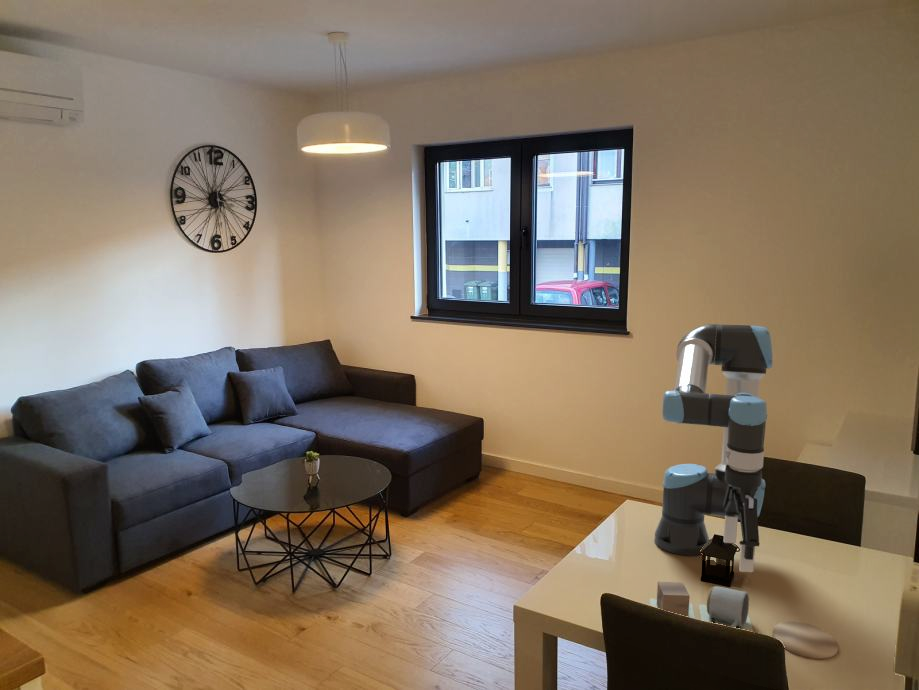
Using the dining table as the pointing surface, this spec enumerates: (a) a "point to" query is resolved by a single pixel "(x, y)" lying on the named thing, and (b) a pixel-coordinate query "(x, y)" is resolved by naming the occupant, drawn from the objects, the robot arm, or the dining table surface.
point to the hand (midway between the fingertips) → (737, 556)
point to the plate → (691, 613)
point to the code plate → (706, 617)
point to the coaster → (806, 640)
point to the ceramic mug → (728, 605)
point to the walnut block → (673, 597)
